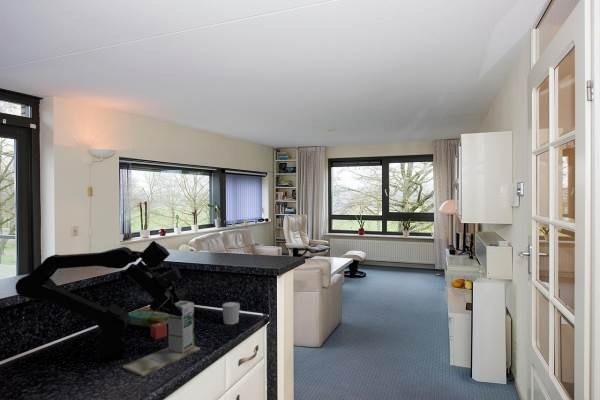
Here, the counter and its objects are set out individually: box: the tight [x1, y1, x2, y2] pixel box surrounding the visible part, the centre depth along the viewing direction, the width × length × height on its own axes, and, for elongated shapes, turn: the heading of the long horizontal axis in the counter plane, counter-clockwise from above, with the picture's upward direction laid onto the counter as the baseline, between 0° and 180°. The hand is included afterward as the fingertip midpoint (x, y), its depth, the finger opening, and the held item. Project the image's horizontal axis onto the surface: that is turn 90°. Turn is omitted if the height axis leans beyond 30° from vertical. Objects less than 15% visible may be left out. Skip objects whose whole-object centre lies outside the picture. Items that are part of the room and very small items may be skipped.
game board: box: [122, 345, 201, 377], centre depth 112 cm, size 21×9×1 cm, turn 148°
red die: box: [150, 322, 168, 340], centre depth 129 cm, size 4×4×4 cm
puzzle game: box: [127, 305, 168, 329], centre depth 142 cm, size 12×5×20 cm
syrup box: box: [167, 300, 195, 353], centre depth 117 cm, size 6×6×14 cm
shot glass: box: [221, 301, 241, 325], centre depth 144 cm, size 7×7×7 cm
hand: (182, 311), depth 117 cm, fingers open, 9 cm apart
